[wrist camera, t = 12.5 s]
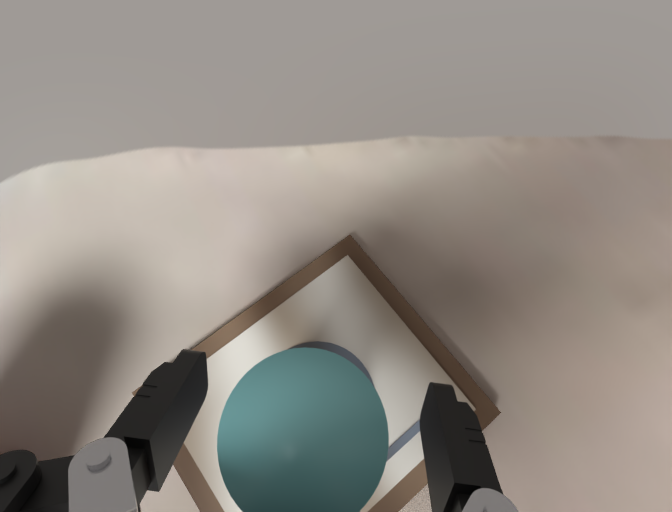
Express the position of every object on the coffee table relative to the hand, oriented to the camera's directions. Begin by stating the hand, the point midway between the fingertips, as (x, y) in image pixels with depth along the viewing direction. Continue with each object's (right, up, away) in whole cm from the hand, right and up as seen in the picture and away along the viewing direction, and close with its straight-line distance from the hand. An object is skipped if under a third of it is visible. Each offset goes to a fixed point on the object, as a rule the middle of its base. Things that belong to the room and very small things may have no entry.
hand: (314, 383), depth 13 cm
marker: (0, -3, +6) cm, 7 cm away
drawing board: (0, -4, +7) cm, 8 cm away
